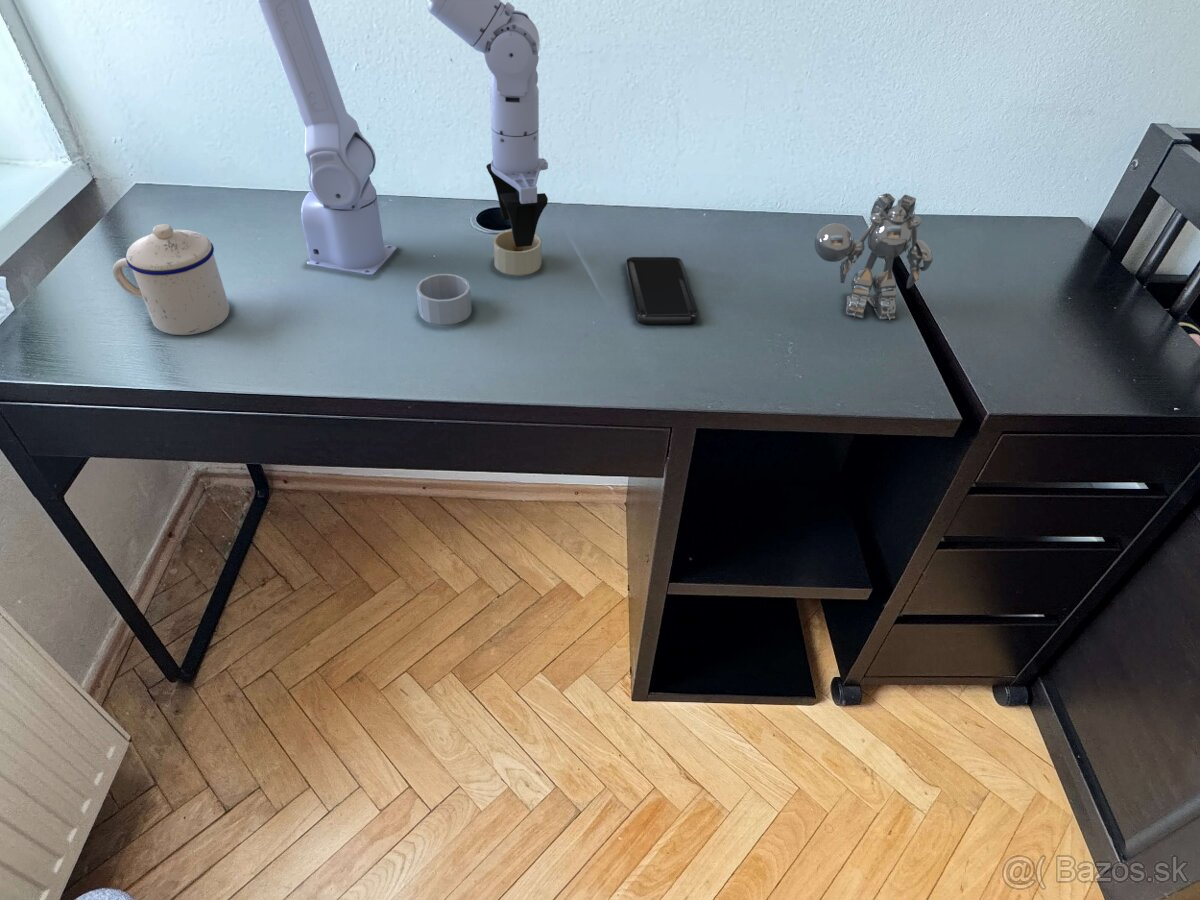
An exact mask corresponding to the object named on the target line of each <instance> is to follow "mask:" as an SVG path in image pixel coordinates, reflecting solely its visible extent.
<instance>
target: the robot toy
mask: <svg viewBox="0 0 1200 900" xmlns="http://www.w3.org/2000/svg"><path fill="white" fill-rule="evenodd" d="M916 201H917V198H916V197H914V196H912V195H908V194H903V195H902V197H901V198H898V199H897V202H896V198H895V197H894V196H892V194H890V193H888V192H886V193H883V194H880V195H879V196H878V197H877V199H875V200H874V202H873V204H872V205H873V206H872V208H871V211H870V217H869V220H870V223H869V225H868V226H867V228H866V230H865V231H864V232H863V234H862V235H861V237H860V239H856V240H855V239H854V235H853V232H852V230H851V229H850V228H849V227H848V226H846V225H844V224H842V223H838V222H836V223H835V222H833V223H829V224H826V225H825V226H823V227H822V228H821V229H819V230H818V232H817V234H816V236H815V239H814V251H815V253H816V254H817V255H818V256H819V258H820V259H822V260H823V261H825V262H829V263H837V262H840V261H841V263H840V265H839V280H840V281H839V282H840V283H841V284H845V282H846V278H847V275H848V273H849V272H850V271H851V269H852V266H853V264H855V263H856V262H857V260H858V259H859V258H860V257H861V256H862V255H863V253H864V250H865V246H866V245H865V241H866V239H867V247H868V249H869V250H870V254H869V256H868V258H867V260H866V263H865V265H864V268H861V269H859V270H858V271H856V272H855V273H854V274H853V277H852V280H851V282H850V286H851V290H852V293H850V294H849V295H847V296H846V306H845V314H846V315H847V316H850V317H851V316H852V317H856V318H859V319H864V318H865V309H866V306H867V302H868V303H869V305H870V306H871V307H873V310H874V313H875V314H876V316H877V317H878V320H894V319H896V316H895V315H896V310H897V305H896V298H897V297H896V296H897V280H896V277H895V274H894V272H893V264H894V259H895V258H898V257H900V256H901V255H902V254H903V253H906V252H907V254H906V259H907V261H908V264H909V271H910V273H909V276H908V278H907V280H906V289H911V288H912V287H913V286H914V284H915V283H916V281H919V280H920V273H921V272H925V271H927V270H928V269H929V268H930V266H931V264H932V263H933V252H932V250H931V248H930V246H929V245H928V244H927V243H926V242H925V241H923V240H922V239H918V228H919V226H921V223H922V218H921V217H920V216H918V215H916V211H915V210H916V207H917V205H918V203H916ZM895 202H896V204H895ZM910 245H911V246H910ZM878 259H882V260H885V261H884V266H883V270H882V271H879V272H878V273H877V274H875V275H874V276H873V272H872V271H873V268H874V266H875V263H876V262H877V260H878ZM842 260H843V261H842ZM872 288H873V291H874V294H873V295H871V296H869V295H870V292H871V290H872Z"/></svg>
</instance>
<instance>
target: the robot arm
mask: <svg viewBox="0 0 1200 900" xmlns="http://www.w3.org/2000/svg"><path fill="white" fill-rule="evenodd" d="M256 1H257V3H258V6H259V9H260V12H261V14H262V17H263V19H264V22H265V25H266V27H267V30H268V32H269V35H270V39H271V40H272V43H273V46H274V48H275V51H276V54H277V57H278V59H279V61H280V64H281V67H282V70H283V72H284V75H285V77H286V80H287V83H288V85H289V87H290V90H291V94H292V96H293V99H294V101H295V104H296V107H297V109H298V112H299V115H300V117H301V120H302V122H303V125H304V131H305V132H304V133H305V134H304V138H305V140H304V155H305V157H306V159H307V162H308V167H309V172H308V185H309V188H310V191H309V192H307V194H306V195H305V196H304V199H303V201H302V204H301V209H300V216H301V224H302V230H303V234H304V239H305V243H306V249H307V253H308V257H309V258H308V259H309V260H308V261H307V262H306V264H307V265H309V266H312V267H313V266H314V267H320V268H324V269H325V268H326V269H331V270H338V271H342V272H343V271H344V272H349V273H355V274H361V275H367V276H373V275H375V274H376V273H377V272H378V270H379V269H380V268H381V267H382V266H383V265H384V264H385V263H386V261H387V260H388V259H389V258H390V257H391V256H392V255H393V254H394V253H395V251H396V250H397V249H398V248H397V246H395V245H390V244H385V243H384V237H383V230H382V223H381V215H380V209H379V203H378V195H377V190H376V188H375V186H374V185H373V182H372V180H371V175H372V173H373V172H374V170H375V168H376V165H377V163H376V162H377V158H376V157H377V156H376V153H375V150H374V148H373V146H372V145H371V143H370V142H369V141H368V140H367V139H366V137H364V135H363V134H362V132H361V130H360V127H359V125H358V122H357V120H356V119H355V118H353V116H351V115H350V114H349V112H347V109H346V106H345V103H344V100H343V97H342V94H341V92H340V88H339V85H338V82H337V79H336V76H335V72H334V70H333V68H332V64H331V62H330V58H329V57H328V52H327V50H326V46H325V44H324V41H323V37H322V35H321V32H320V29H319V26H318V23H317V20H316V18H315V14H314V12H313V9H312V5H311V3H310V0H256ZM425 1H426V5H427V10H428V12H429V13H430V14H431V15H432V16H433V17H434V18H436V19H437V20H438V21H439V22H440V23H442V24H443V25H444V26H445V27H447V28H448V29H449V30H451V31H452V32H453V33H454V34H455V35H456V36H458V37H459V38H460V39H461V40H463V41H464V42H465V43H466V44H468V45H469V46H470V47H471V48H472V49H474V50H475V51H477V52H479V53H482V54H484V59H485V63H486V66H487V67H488V68H487V69H488V70H489V71H490V82H491V83H490V84H491V85H490V87H489V99H490V100H489V101H490V102H489V103H490V123H491V124H490V125H491V126H490V130H491V153H492V156H491V157H492V159H491V162H490V163H488V164H486V166H485V167H486V170H487V172H488V174H489V176H490V177H491V179H492V182H493V185H494V187H495V192H496V195H497V200H498V204H499V209H500V213H501V216H502V219H503V221H507V220H508V221H509V223H510V227H511V229H510V230H512V234H513V239H514V242H515V245H516V247H524V246H531V245H532V243H533V239H534V235H535V234H536V230H537V226H538V224H539V223H538V222H539V219H540V217H541V215H542V213H543V211H544V209H545V208H546V207H547V205H548V202H549V198H548V196H547V194H546V192H542V193H538V186H537V183H538V179H539V176H540V172H541V171H547V170H548V169H549V163H548V160H546V159H545V158H543V157H542V158H541V157H540V158H539V156H540V155H539V153H540V151H539V149H540V147H539V146H540V145H539V144H540V143H539V138H540V137H539V136H540V134H539V129H540V126H539V124H540V122H539V121H540V120H539V119H540V113H539V111H540V110H539V109H540V107H539V106H540V105H539V103H540V102H539V101H540V100H539V97H540V96H539V95H540V94H539V93H540V90H539V87H538V81H539V74H538V70H537V67H538V65H539V59H540V57H539V50H540V43H541V42H540V41H541V40H540V35H539V32H538V29H537V26H536V25H535V22H533V21H532V20H531V19H530V17H529V16H528V14H527V13H526V12H523V11H521V10H515V9H516V8H515V6H514V5H513V4H512V3H511V2H509V1H507V2H506V3H504V2H502V1H501V0H425Z"/></svg>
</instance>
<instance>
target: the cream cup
mask: <svg viewBox="0 0 1200 900" xmlns="http://www.w3.org/2000/svg"><path fill="white" fill-rule="evenodd" d="M492 247H493V248H492V249H493V250H492V251H493V265H494V267H495V269H497V270H498V271H499V272H501V273H502V274H506V275H510V276H527V275H530V274H534V273H536V272H537V271H539V269H540V268H541V266H542V265H543V262H542V261H543V260H542V259H543V256H542V255H543V254H542V253H543V252H542V251H543V248H542V247H543V244H542V238H541V237H540V235H538V234H537V233H535V235H534V239H533V243H532V245H531V246H524V247H522V251H513V234H512V229H509V230H504V231H501V232H499V233H498V234H496V235H495V236H494V237H493V239H492Z"/></svg>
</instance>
